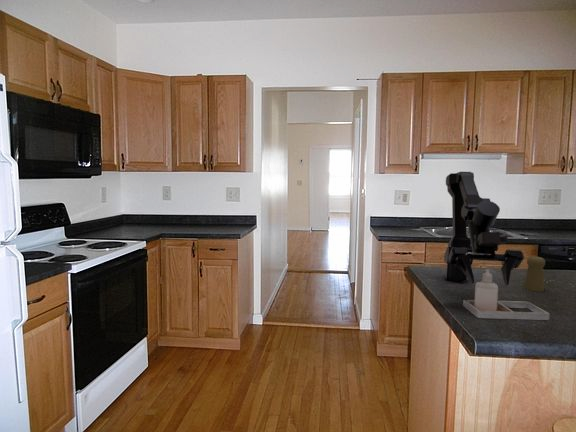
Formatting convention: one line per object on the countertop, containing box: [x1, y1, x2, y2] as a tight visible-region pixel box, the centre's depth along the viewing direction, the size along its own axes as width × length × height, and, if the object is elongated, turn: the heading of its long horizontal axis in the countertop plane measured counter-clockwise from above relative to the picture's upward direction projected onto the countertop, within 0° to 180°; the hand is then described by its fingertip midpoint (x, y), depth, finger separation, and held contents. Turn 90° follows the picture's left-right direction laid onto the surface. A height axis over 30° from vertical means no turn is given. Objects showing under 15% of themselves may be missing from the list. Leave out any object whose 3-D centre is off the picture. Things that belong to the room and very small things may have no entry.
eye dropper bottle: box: [474, 268, 499, 311], centre depth 108 cm, size 4×6×12 cm
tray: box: [462, 299, 551, 321], centre depth 108 cm, size 19×10×2 cm, turn 88°
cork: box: [523, 255, 546, 292], centre depth 131 cm, size 6×6×11 cm
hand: (490, 283), depth 106 cm, fingers open, 8 cm apart
